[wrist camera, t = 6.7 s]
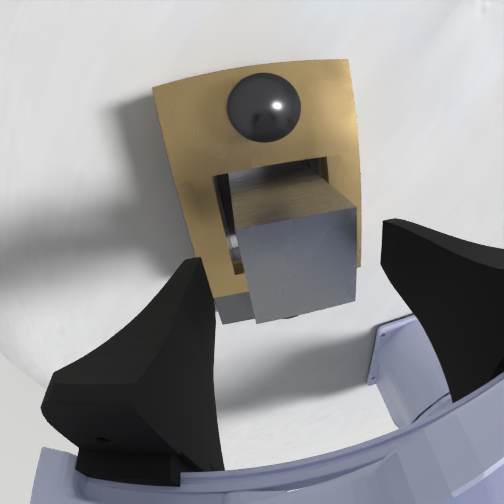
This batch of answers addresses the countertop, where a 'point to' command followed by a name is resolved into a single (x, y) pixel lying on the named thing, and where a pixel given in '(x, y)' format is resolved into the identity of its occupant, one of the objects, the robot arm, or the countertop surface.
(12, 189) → the countertop surface
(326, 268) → the grey metal block
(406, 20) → the countertop surface
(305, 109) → the brass plate with knob
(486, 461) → the robot arm
